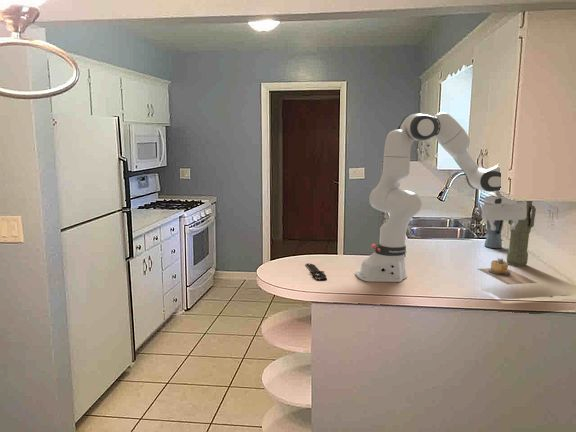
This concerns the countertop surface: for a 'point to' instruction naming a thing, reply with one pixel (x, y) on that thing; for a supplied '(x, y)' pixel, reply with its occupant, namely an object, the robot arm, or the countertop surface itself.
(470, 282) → the countertop surface
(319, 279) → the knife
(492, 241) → the moka pot
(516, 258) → the thermos
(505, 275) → the bobbin board
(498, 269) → the coil ring
